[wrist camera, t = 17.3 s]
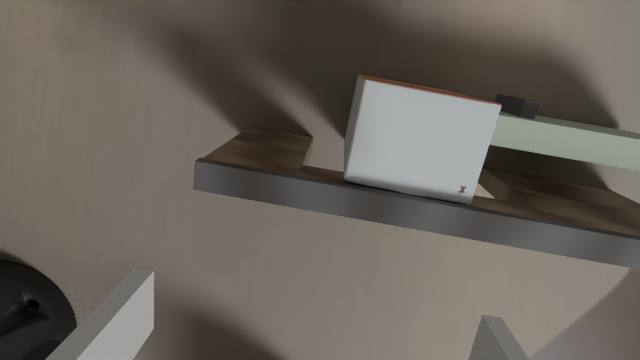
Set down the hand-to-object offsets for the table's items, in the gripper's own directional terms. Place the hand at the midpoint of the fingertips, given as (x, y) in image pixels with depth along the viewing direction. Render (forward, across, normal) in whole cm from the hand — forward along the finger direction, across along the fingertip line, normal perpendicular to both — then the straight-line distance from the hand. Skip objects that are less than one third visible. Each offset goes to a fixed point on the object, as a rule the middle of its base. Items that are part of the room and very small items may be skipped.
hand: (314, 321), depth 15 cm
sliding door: (+22, +18, +7) cm, 29 cm away
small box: (+22, +5, +6) cm, 24 cm away
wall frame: (+22, +9, +2) cm, 24 cm away
